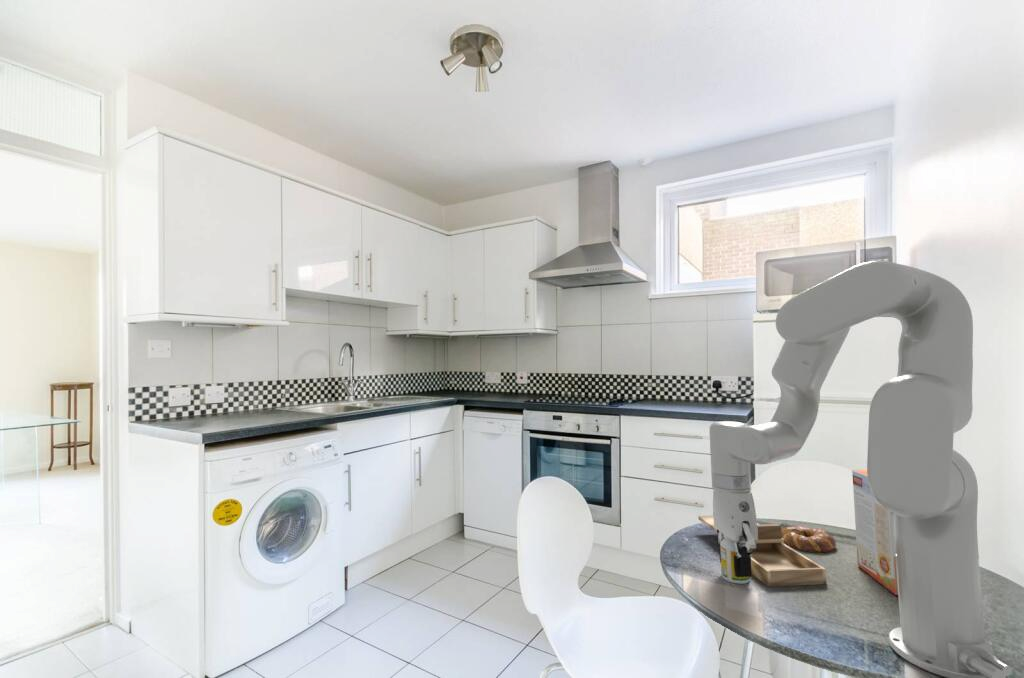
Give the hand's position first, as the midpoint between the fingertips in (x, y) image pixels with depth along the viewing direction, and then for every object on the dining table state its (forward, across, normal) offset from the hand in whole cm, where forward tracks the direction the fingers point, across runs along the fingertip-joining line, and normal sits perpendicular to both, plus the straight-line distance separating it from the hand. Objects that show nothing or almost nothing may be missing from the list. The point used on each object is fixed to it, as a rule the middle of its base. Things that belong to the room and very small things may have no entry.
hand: (735, 568), depth 98 cm
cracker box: (+2, -4, -30) cm, 30 cm away
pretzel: (+3, +16, -26) cm, 31 cm away
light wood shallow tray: (+2, +5, -10) cm, 12 cm away
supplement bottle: (+2, 0, 0) cm, 2 cm away
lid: (-1, +18, -11) cm, 21 cm away
